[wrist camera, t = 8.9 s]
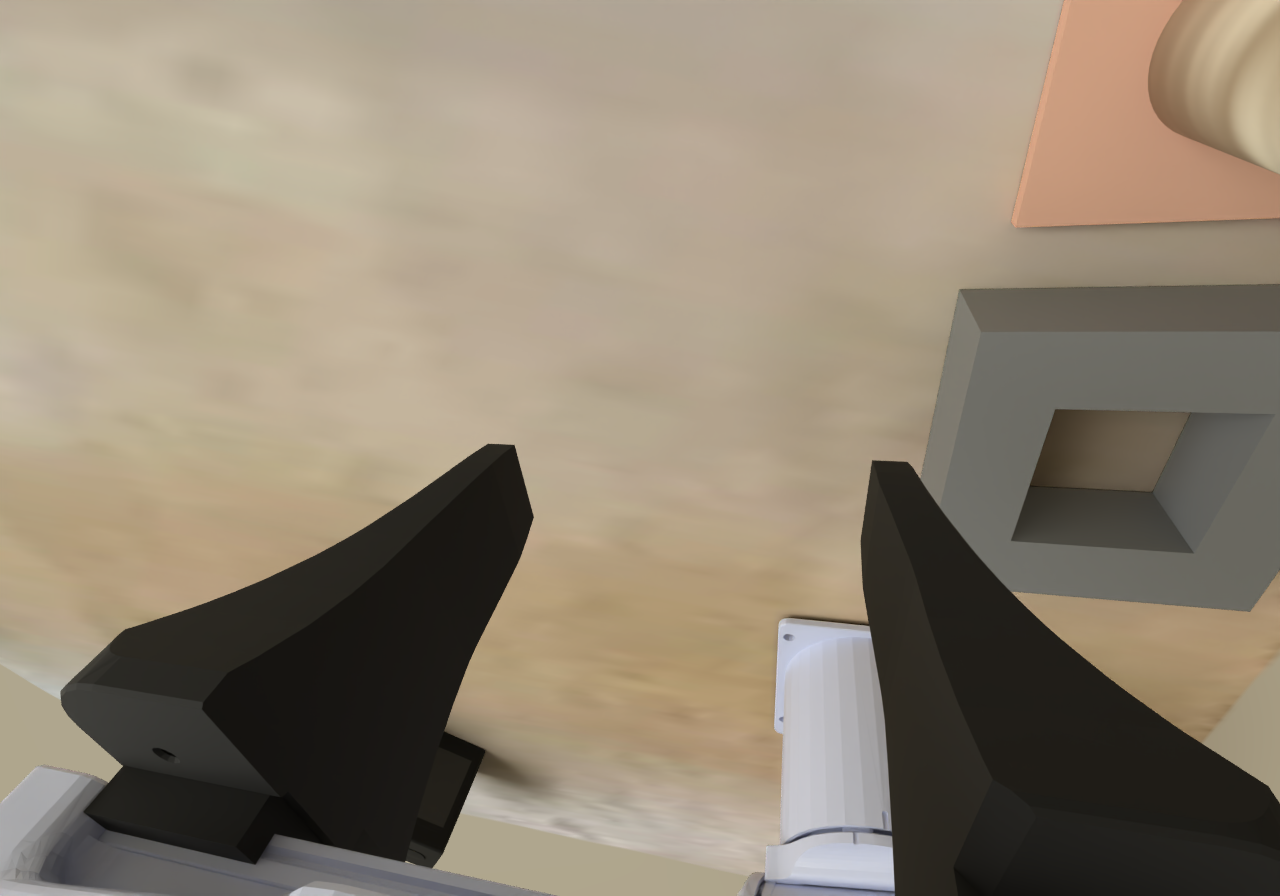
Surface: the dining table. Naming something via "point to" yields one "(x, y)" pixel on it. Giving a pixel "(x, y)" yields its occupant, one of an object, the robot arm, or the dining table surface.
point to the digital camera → (443, 798)
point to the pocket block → (1120, 381)
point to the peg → (1221, 77)
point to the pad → (1123, 135)
